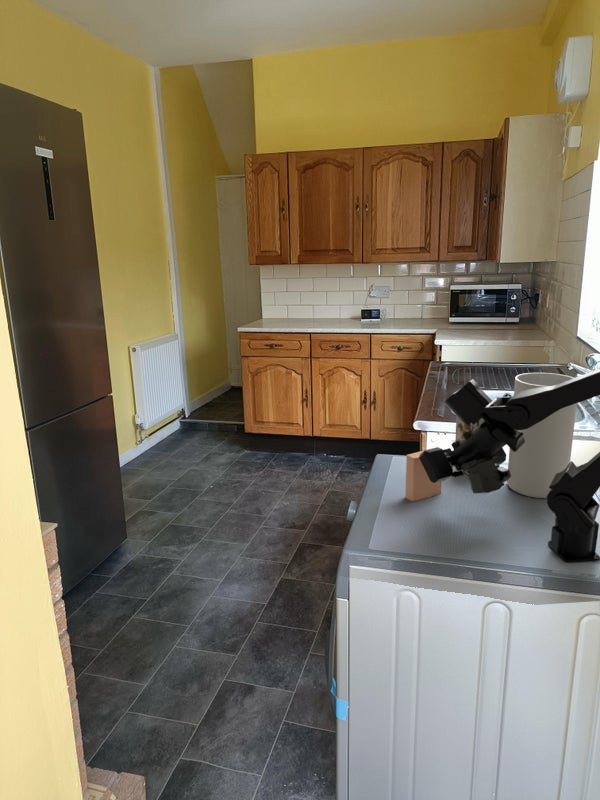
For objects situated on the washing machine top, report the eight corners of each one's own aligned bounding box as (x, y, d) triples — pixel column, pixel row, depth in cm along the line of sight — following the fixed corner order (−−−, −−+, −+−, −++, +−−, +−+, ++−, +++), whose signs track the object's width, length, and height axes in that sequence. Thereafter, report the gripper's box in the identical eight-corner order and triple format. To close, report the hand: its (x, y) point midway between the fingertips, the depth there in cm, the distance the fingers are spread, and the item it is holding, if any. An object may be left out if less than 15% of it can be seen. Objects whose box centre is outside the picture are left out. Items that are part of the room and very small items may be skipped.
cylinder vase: (494, 483, 131) (502, 377, 124) (532, 472, 136) (542, 370, 130) (540, 504, 120) (551, 389, 113) (579, 491, 126) (592, 381, 119)
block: (440, 493, 127) (442, 451, 124) (412, 501, 123) (413, 458, 120) (432, 489, 129) (434, 447, 126) (404, 497, 125) (406, 454, 122)
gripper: (468, 490, 99) (424, 521, 112) (541, 468, 108) (492, 499, 120) (439, 435, 104) (399, 471, 116) (512, 418, 112) (467, 453, 125)
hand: (441, 474), depth 119 cm, fingers closed
